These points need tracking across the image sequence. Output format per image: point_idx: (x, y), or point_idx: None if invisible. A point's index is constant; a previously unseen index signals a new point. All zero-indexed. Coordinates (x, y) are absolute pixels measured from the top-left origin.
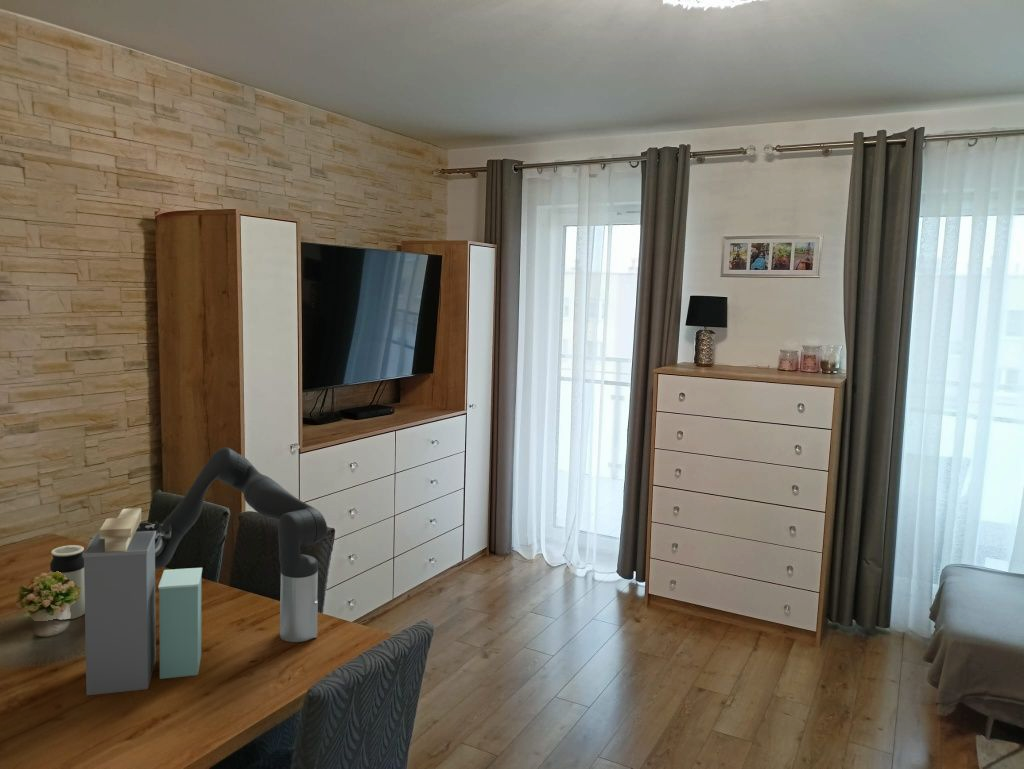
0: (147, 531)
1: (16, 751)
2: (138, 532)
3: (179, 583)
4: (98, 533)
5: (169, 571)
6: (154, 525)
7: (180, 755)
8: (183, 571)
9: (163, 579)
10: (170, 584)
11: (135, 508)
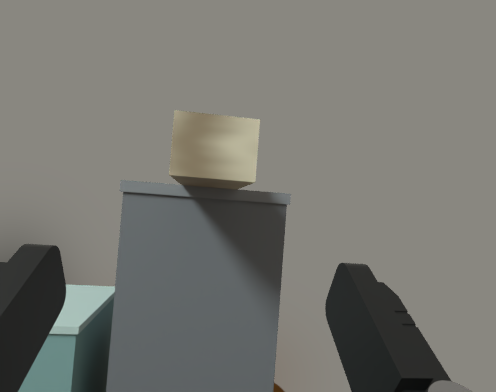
0: (146, 182)
1: (274, 388)
2: (173, 184)
3: (68, 288)
4: (284, 193)
5: (66, 319)
6: (59, 267)
7: None
8: None
9: (99, 299)
10: (89, 288)
11: (202, 114)
